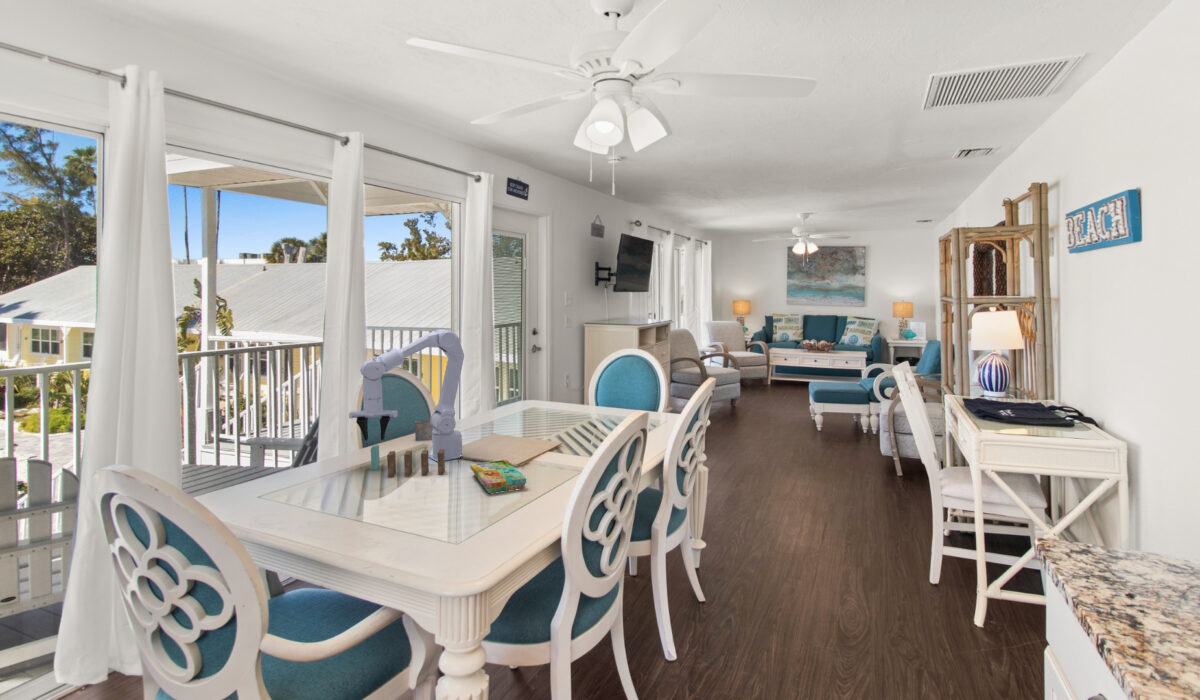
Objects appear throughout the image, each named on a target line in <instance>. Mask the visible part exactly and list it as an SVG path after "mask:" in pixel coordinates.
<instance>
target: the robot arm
mask: <svg viewBox="0 0 1200 700" xmlns="http://www.w3.org/2000/svg"><path fill="white" fill-rule="evenodd" d="M461 344H462V343H461V339H460V337H459V336H458V334H456V333H455V331H453V330H449V329H448V330H447V329H444V328H438V329H435V330H434V331H431V332H428V333H426V334H424V335H423V336H420V337H418V338H417V339H416V340H414V341H412V342H410V343H409V344H407V345H405V346H403V347H401V348H400V349H399V348H396V347H393V348H387V349H386V351H385V352H383V353H382V354H380V355H378V356H376V355H375V356H373V357H372V359H371V360H370V359H369V360H366V361H365V362H363V363H362V365H361V367H360V373H361V375H362V382H363V383H362V399H363V410H353V411H351V410H350V411H349V412H348V418H349V419H350V420H351V419H352V420H353V419H356V420H355V421H356V424H357V425H358V426H359V429H360V431H361V434H362V435H363V440H364V441H368V440H369V431H368V430H369V429H368V423H369V418H380V419H379V425H380V440H381V441H383V440H385V437H386V431H387V427H388V426H389V425H388V424H389V422H390V420H391V418H397V417H398V414H399V413H398V412H399V411H398V410H397V409H393V410H392V409H384V407H383V406H384V405H383V404H384V403H383V383H382V376H383V374H384V373H388V372H390V371H391V370H393V369H395V368H397V367H400V366H401V365H402V364H404V362H405V359H406V358H408V357H410V356H413V355H414V354H416V353H418V352H420V351H422V350H424V349H427V348H437V349H440V350H441V351H442V352H443V353H444V355H445V356H446V357H447V362H446V365H445V371H444V376H443V381H442V385H441V391H440V395H439V400H438V403H437V405H435V407H434V411H433V413H432V414H431V416H430V418H429V420H430V423H431V425H432V426H433V427H434V428H433V431H432V440H431V441H432V444H431V445H432V446H431V447H432V454H430V455H429V454H428V458H429V459H431V460H433V461H435V462H437V463H438V451H439V449H444V454H445V461H449V460H454V459H460V457H461V456H460V455H463V439H462V435H461V432H460V431H459V430H457V429H456V430H455V428H456V420H455V419H456V418H455V414H456V410H455V402H456V398H457V393H458V388H459V383H460V379H461V374H462V368H463V365H464V359H465V353H464V350H463V347H462V345H461ZM461 458H462V457H461Z"/></svg>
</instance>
